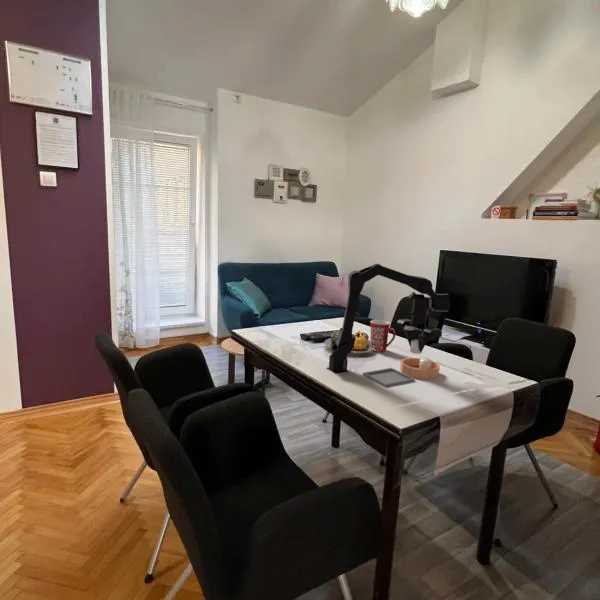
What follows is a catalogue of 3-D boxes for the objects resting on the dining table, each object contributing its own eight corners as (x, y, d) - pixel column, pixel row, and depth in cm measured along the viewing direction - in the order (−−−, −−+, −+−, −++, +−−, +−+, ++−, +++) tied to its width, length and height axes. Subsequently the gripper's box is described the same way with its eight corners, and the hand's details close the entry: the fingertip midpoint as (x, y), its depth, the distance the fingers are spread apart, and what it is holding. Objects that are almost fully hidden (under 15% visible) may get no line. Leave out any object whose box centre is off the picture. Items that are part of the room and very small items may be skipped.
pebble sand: (424, 373, 164) (425, 362, 163) (416, 369, 168) (417, 359, 167) (432, 371, 166) (433, 361, 165) (424, 368, 170) (425, 357, 169)
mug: (364, 349, 194) (366, 321, 192) (375, 346, 201) (377, 318, 198) (387, 356, 185) (389, 327, 183) (398, 352, 192) (400, 324, 189)
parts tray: (384, 388, 149) (385, 384, 149) (362, 376, 160) (362, 372, 160) (414, 382, 156) (414, 378, 156) (391, 371, 167) (391, 367, 167)
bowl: (419, 382, 156) (420, 372, 155) (393, 369, 168) (393, 360, 168) (446, 376, 163) (447, 367, 162) (419, 365, 175) (420, 356, 175)
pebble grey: (415, 354, 160) (417, 343, 159) (407, 350, 164) (408, 340, 163) (424, 352, 162) (425, 341, 161) (416, 349, 166) (417, 339, 165)
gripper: (454, 314, 156) (449, 354, 159) (417, 304, 172) (414, 341, 174) (433, 316, 150) (428, 357, 153) (397, 306, 166) (393, 343, 169)
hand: (416, 349), depth 163 cm, fingers closed on pebble grey, 4 cm apart
